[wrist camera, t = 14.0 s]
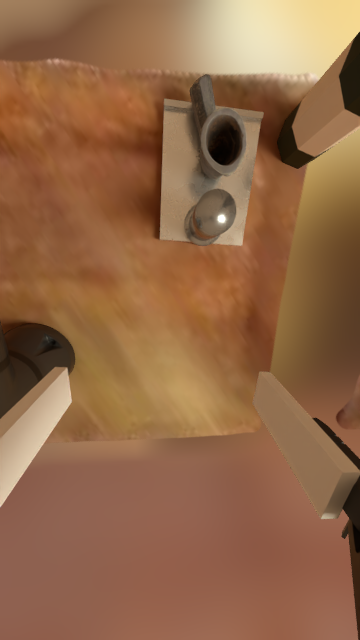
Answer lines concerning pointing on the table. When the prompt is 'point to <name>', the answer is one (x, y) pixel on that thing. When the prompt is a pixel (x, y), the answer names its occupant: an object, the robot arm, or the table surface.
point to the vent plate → (202, 182)
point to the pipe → (217, 132)
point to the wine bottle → (324, 111)
